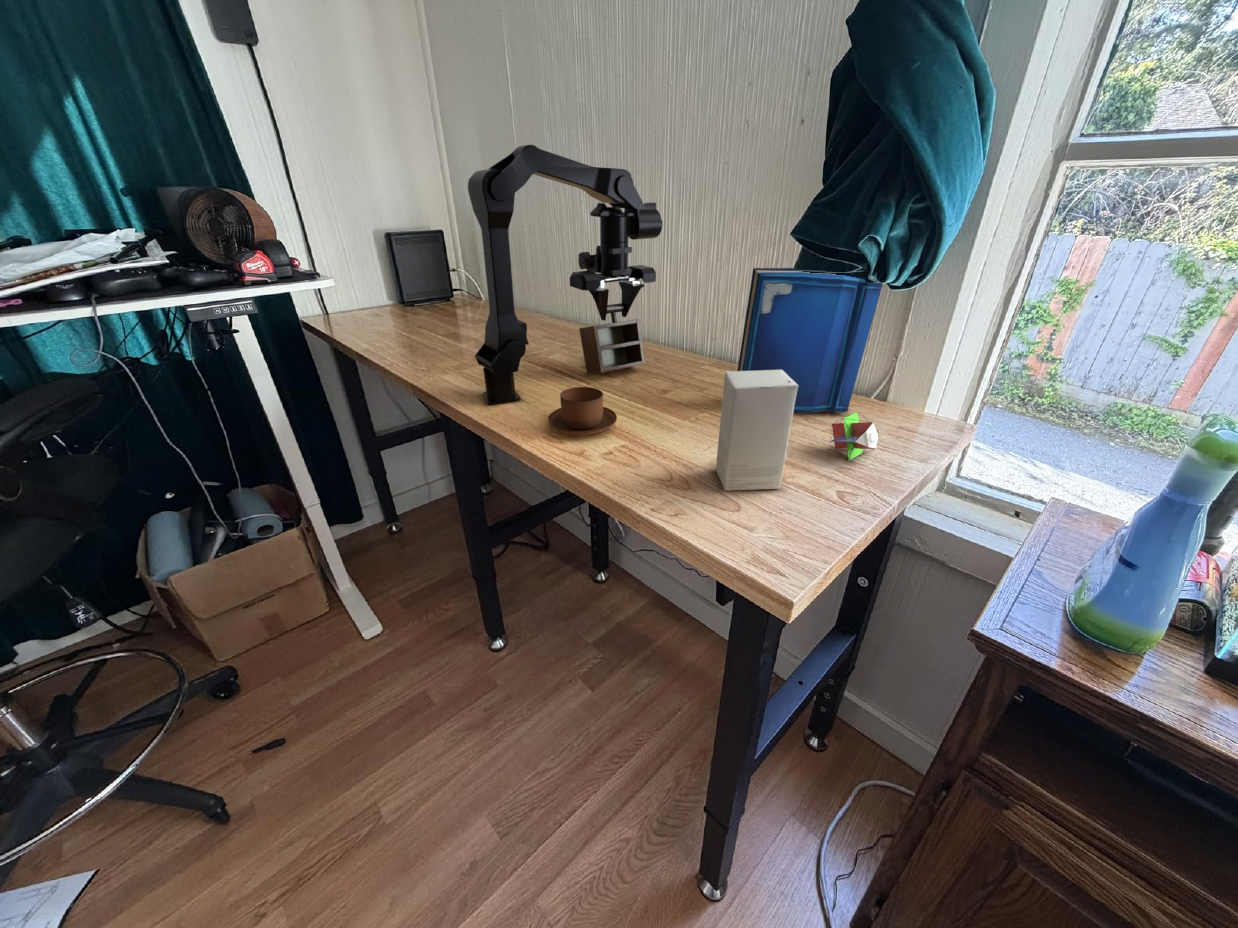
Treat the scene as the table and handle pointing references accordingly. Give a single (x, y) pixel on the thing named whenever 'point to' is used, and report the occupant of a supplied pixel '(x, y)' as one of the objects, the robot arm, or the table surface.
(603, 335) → the shelf
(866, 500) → the table surface
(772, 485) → the cosmetic box
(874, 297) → the book
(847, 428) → the geometric puzzle
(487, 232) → the robot arm
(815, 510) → the table surface
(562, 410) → the cup and saucer
